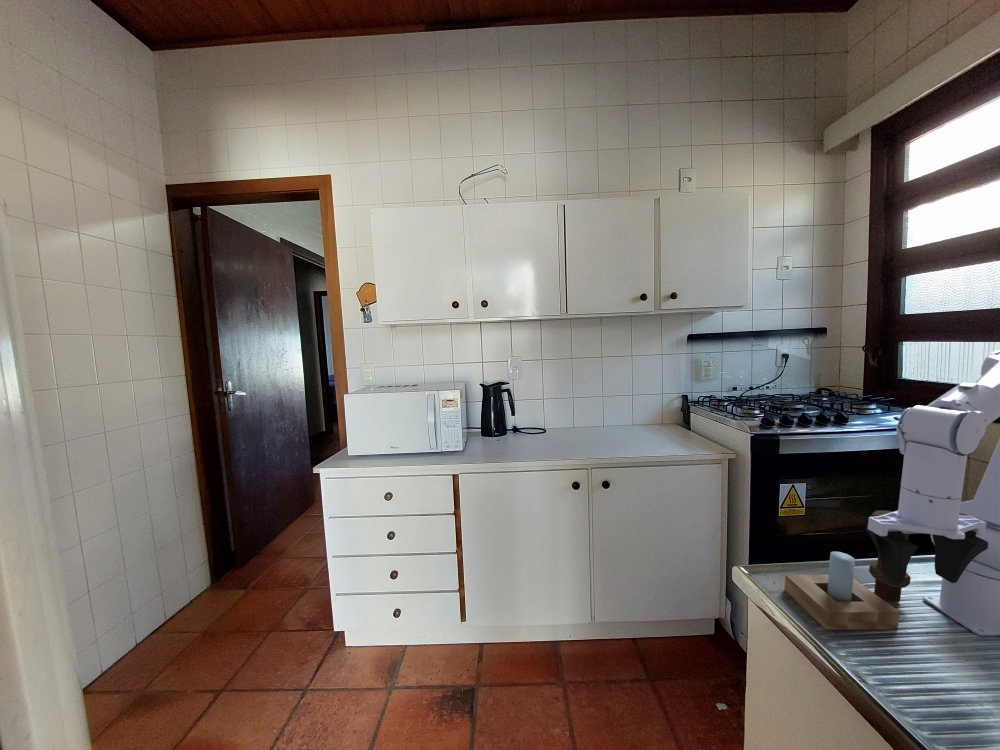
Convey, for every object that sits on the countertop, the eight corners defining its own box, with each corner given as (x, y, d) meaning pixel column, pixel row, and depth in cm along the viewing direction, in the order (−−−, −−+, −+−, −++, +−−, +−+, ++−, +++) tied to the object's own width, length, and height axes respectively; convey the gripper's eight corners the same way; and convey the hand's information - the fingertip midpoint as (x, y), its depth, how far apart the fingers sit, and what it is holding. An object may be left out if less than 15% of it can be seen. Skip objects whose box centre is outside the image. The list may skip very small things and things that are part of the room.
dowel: (837, 602, 65) (842, 550, 64) (855, 615, 62) (860, 561, 61) (821, 603, 65) (825, 552, 63) (838, 616, 62) (843, 562, 60)
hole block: (846, 589, 68) (847, 574, 67) (897, 629, 59) (899, 611, 58) (784, 590, 68) (785, 574, 68) (826, 629, 59) (827, 612, 59)
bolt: (918, 612, 62) (929, 527, 60) (882, 608, 63) (892, 524, 61) (890, 588, 68) (899, 510, 66) (857, 585, 69) (865, 508, 67)
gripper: (907, 504, 50) (896, 598, 51) (1020, 502, 49) (1005, 597, 51) (858, 482, 57) (850, 565, 58) (956, 481, 56) (945, 565, 58)
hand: (919, 578), depth 55 cm, fingers open, 7 cm apart
